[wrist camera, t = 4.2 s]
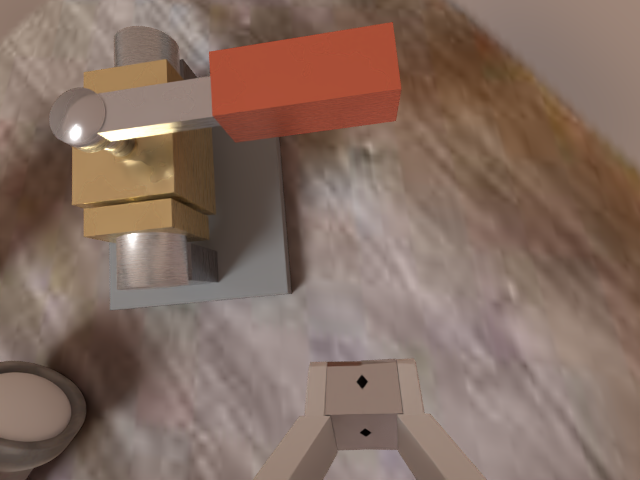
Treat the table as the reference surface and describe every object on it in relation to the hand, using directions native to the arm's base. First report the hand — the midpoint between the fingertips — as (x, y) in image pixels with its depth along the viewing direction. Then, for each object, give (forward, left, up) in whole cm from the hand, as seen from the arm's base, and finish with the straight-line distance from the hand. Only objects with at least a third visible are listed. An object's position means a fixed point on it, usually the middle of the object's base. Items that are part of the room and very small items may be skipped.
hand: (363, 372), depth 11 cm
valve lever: (+7, +11, -6) cm, 15 cm away
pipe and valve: (+3, +17, -17) cm, 24 cm away
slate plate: (+3, +17, -18) cm, 25 cm away
